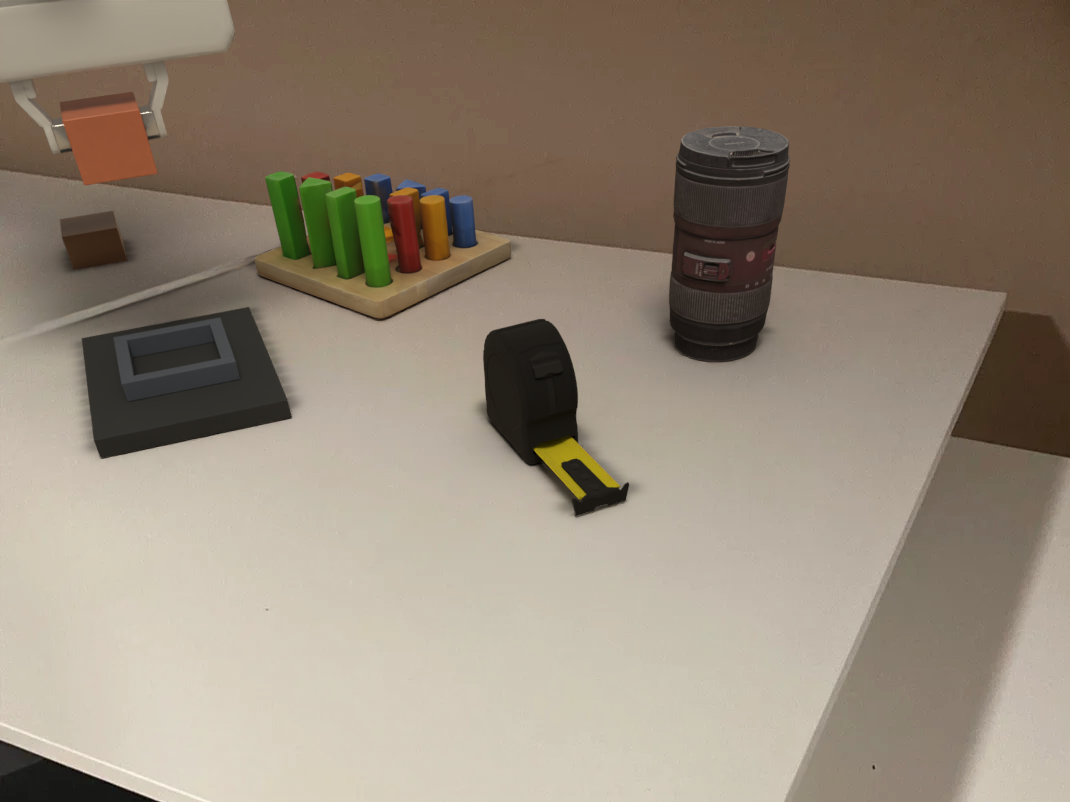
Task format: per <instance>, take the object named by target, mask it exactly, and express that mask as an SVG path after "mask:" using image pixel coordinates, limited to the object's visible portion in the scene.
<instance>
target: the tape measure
mask: <svg viewBox="0 0 1070 802" xmlns="http://www.w3.org/2000/svg"><path fill="white" fill-rule="evenodd" d="M482 356H483V357H482V362H483V364H482V365H483V374H484V375H483V376H484V393H485V403H486V404H485V405H486V414H487V417H488V419H489V421H490V422H491V423H492V425H494V427H495V428H496V429H497V430H498V431H499V432H500V433H501V435H502V436H503V437H504V438H505V439H506V441H508V442H509V444H510V445H511V446H512V447H513V449H515V451H516V453H518V455H519V456H521V458H522V459H523V460H524V461H525V462H526V464H528V465H535V464H540V463H543V462H544V463H545V464H546V465H547V466H548V468H549V469H550V470H551V471H552V472H553V473H554V475H556V476H557V478H559V480H561V482H562V483H563V484H564V485H565V486H566V487H567V488H568V489H569V490H570V492H571V493H572V494H573V495H574V496H575V497H576V498H572V501H571V502H572V506H573V509H574V515H575V517H578V516H581V515H584V514H588V513H591V512H594V511H595V509H597V508H598V507H602V506H605V505H606V506H608V507H610V506H614V505H617V504H620V503H623V502H626V501H627V497H628V492H629V488H630V483H629V482H628V481H627V482H625V483H624V484H623V486H622V487H621V485H620V484H619V483H618V482H617V481H616V480H615V479H614V478H613V477H612V476H611V475H610V474H609V473H608V472H607V471H606V470H605V469H604V468H603V467H602V466H601V465H600V464H599V463H598V462H597V461H596V460H595V459H594V458H593V457H592V456H591V455H590V454H589V453H588V451H586V450H585V449H584V448H583V447H582V446H581V444H579V430H578V429H579V427H578V421H577V413H578V407H579V392H578V391H579V390H578V382H577V377H576V372H575V368H574V367H575V366H574V363H573V361H572V357H571V354H570V351H569V349H568V346H567V345H566V342H565V340H564V339H563V337H562V335H561V333H560V331H559V329H558V328H557V327H556V326H555V325H554V323H552V322H551V321H549V320H547V319H546V318H537V319H532V320H528V321H524V322H520V323H518V324H517V323H516V324H512V325H508V326H504V327H500V328H497V329H493V330H490V331H489V333H487V335H486V337H485V339H484V343H483V351H482Z"/></svg>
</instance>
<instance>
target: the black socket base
mask: <svg viewBox="0 0 1070 802" xmlns="http://www.w3.org/2000/svg"><path fill="white" fill-rule="evenodd" d="M81 346H82V354H83V361H84V362H83V363H84V369H85V371H84V372H85V378H86V379H85V380H86V387H87V395H88V403H89V404H88V405H89V413H90V420H91V421H90V422H91V429H92V436H93V443H94V445H95V447H96V449H97V452H98V455H99V457H100V458H101V459H106V458H110V457H114V456H119V455H123V454H124V455H125V454H128V453H133V452H137V451H142V450H147V449H152V448H156V447H161V446H162V447H163V446H166V445H170V444H176V443H180V442H181V443H182V442H185V441H189V440H190V441H191V440H194V439H199V438H204V437H208V436H213V435H218V434H222V433H226V432H232V431H237V430H241V429H246V428H250V427H255V426H260V425H261V426H262V425H264V424H269V423H274V422H279V421H283V420H289V419H292V413H291V409H290V405H289V400H288V398H287V396H286V393H285V391H284V388H283V386H282V383H281V381H280V378H279V376H278V374H277V371H276V368H275V366H274V364H273V361H272V359H271V357H270V354H269V352H268V349H267V347H266V344H265V342H264V340H263V337H262V335H261V332H260V330H259V327H258V325H257V322H256V320H255V317H254V315H253V313H252V310H251V308H250V306H246V307H241V308H236V309H230V310H226V311H220V312H219V311H218V312H214V313H209V314H203V315H198V316H193V317H188V318H182V319H176V320H171V321H165V322H161V323H155V324H149V325H145V326H139V327H134V328H129V329H123V330H118V331H112V332H107V333H102V334H97V335H96V334H95V335H92V336H91V335H90V336H86V337H81Z"/></svg>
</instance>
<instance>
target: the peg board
mask: <svg viewBox="0 0 1070 802" xmlns="http://www.w3.org/2000/svg"><path fill="white" fill-rule="evenodd" d="M264 179H265V185H266V189H267V193H268V196H269V201H270V204H271V210H272V213H273V218H274V223H275V226H276V229H277V235H278V238H279V242H280V246H279V247H276V248H274V249H271V250H269V251H266V252H264V253H261V254H259V255H256V256H255V257H254V263H255V267H256V272H257V274H258V276H260V277H263V278H264V279H268V280H271V281H274V282H276V283H279V284H280V285H285V286H288V287H290V288H292V289H296V290H298V291H300V292H304V293H306V294H309V295H312V296H314V297H317V298H320V299H322V300H325V301H328V302H331V303H333V304H336V305H339V306H342V307H345V308H346V309H347V308H348V309H350V310H352V311H355V312H357V313H361V314H363V315H367V316H369V317H372V318H375V319H386V318H387V317H390V316H392V315H394V314H396V313H398V312H401V311H403V310H404V309H406V308H409V307H411V306H413V305H415V304H417V303H419V302H421V301H423V300H425V299H427V298H429V297H431V296H433V295H436V294H437V293H440V292H442V291H444V290H445V289H448V288H450V287H452V286H454V285H456V284H458V283H460V282H462V281H464V280H466V279H468V278H471V277H472V276H475V275H477V274H479V273H481V272H483V271H485V270H487V269H489V268H491V267H493V266H495V265H498V264H500V263H503V262H504V261H506V260H508V259H510V258H511V257H512V243H511V239H509V238H507V237H503V236H500V235H496V234H493V233H489V232H486V231H482V230H480V229H479V230H478V229H476V222H475V211H474V199H473V197H472V196H470V195H464V194H462V195H461V194H460V195H455V196H452V197H451V198H450V192H449V189H446V188H443V187H435V188H433V189H430V190H427V187H426V185H425V184H422V183H419V182H418V181H414V180H410V179H408V178H406V179H404V180H403V181H402V182H401V183H400V184H398V186H396V188H395V191H393V185H392V179H391V176H390V175H387V174H383V173H374V174H372V175H368V176H366V177H364V178H363V179H364V180H362V176H361V175H359V174H356V173H353V172H345V173H342V174H339V175H336V176H334V177H333V179H332V180H333V184H332V182H331V178H330V175H329V174H328V173H324V172H320V171H313V172H309V173H308V174H305V175H302V176H301V177H300V180H301V184H300V185H299V189H298V185H297V182H296V177H295V174H294V173H291V172H287V171H283V170H282V171H281V170H280V171H275V172H274V173H271V174H269V175H266V176H265V177H264ZM363 182H364V183H363ZM363 184H364V187H363ZM333 185H334V189H333ZM363 188H364V189H363ZM364 190H365V193H364ZM298 191H299V192H298Z"/></svg>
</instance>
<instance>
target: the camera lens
mask: <svg viewBox="0 0 1070 802" xmlns="http://www.w3.org/2000/svg"><path fill="white" fill-rule="evenodd" d="M789 149H790V141H789V139H788V138H787V137H786V136H784V134H782V133H779V132H777V131H773V130H769V129H765V128H760V127H754V126H737V125H730V126H729V125H727V126H712V127H705V128H699V129H697V130H692V131H689V132H687V133H686V134H684V135H683V136H682V137H681V139H680V144H679V150H678V153H677V154H676V156H675V172H674V174H675V175H674V189H673V204H672V205H673V215H672V216H673V222H674V231H673V243H672V256H671V257H672V258H671V271H670V274H669V275H670V276H669V285H668V286H669V288H668V290H669V291H668V307H669V325H670V327H671V329H672V330H673V343H674V344H673V345H674V347H675V349H676V350H677V351H678V352H679V353H680V354H682V355H683V356H686V357H687V358H691V359H694V360H698V361H703V362H717V363H718V362H719V363H720V362H730V361H734V360H738V359H740V358H744V357H746V356H748V355H750V354H751V353H752V352H753V351H754V350H755V349H756V347H757V345H758V339H759V334H760V333H761V332H762V330H763V329H764V327H765V325H766V319H767V315H768V310H769V307H770V303H771V296H772V288H773V279H774V277H773V274H774V265H775V258H776V250H777V239H778V234H779V226H780V224H781V222H782V217H783V213H784V208H785V201H786V195H787V187H788V181H789V171H790V167H791V166H790V162H791V157H790V155H789V151H790V150H789Z"/></svg>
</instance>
